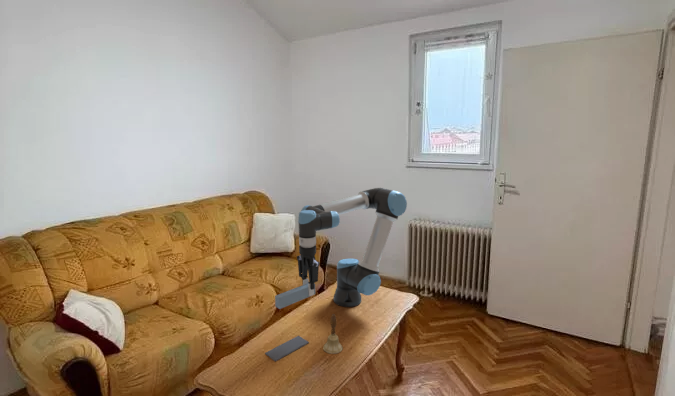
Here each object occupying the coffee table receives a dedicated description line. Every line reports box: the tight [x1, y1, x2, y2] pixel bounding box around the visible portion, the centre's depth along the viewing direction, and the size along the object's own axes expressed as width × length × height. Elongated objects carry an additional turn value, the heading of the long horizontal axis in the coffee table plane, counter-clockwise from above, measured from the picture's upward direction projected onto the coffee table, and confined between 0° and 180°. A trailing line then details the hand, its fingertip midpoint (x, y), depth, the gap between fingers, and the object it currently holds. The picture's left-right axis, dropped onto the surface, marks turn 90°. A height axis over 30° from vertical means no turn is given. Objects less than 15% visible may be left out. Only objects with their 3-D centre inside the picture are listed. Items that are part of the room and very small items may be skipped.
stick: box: [274, 283, 316, 310], centre depth 164 cm, size 20×3×5 cm, turn 134°
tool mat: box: [264, 335, 310, 362], centre depth 158 cm, size 18×7×1 cm, turn 135°
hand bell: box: [322, 313, 343, 355], centre depth 157 cm, size 8×8×16 cm
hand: (308, 293), depth 169 cm, fingers closed on stick, 3 cm apart
